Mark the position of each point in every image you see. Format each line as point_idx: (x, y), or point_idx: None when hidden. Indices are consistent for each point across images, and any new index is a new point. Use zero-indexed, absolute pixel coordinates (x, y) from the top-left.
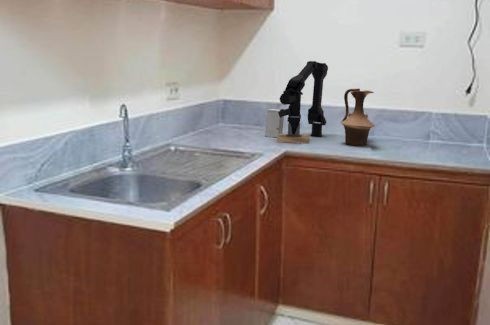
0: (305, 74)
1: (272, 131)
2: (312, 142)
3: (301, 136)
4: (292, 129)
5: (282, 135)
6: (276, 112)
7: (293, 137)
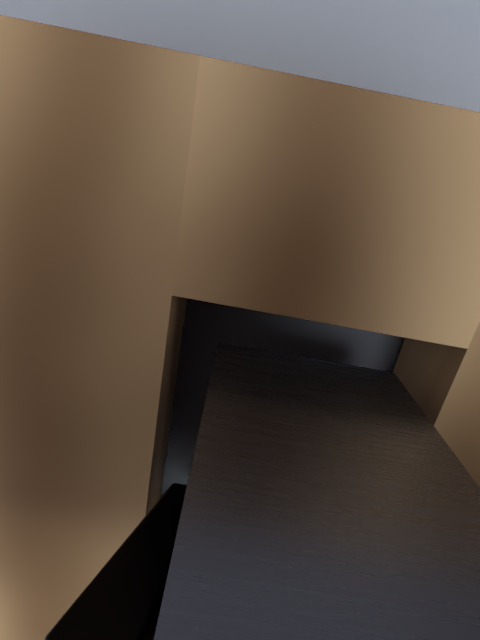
0: None
1: None
2: None
3: None
4: (79, 613)
5: (318, 229)
6: None
7: (23, 443)
